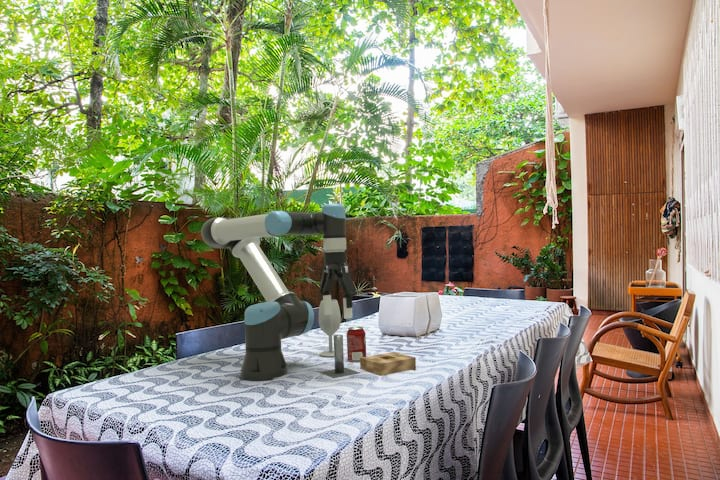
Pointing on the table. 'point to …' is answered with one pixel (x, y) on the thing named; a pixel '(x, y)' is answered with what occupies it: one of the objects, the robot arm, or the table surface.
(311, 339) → the table surface
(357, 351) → the soda can
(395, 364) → the hole block
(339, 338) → the pin
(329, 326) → the wineglass
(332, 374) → the mat
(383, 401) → the table surface
